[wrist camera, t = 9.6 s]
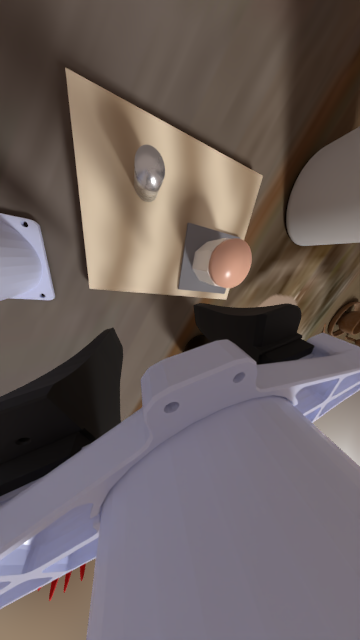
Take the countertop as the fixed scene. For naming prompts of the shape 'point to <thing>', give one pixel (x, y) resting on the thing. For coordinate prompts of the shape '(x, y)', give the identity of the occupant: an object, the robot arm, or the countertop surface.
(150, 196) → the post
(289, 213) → the cylinder vase
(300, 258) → the countertop surface
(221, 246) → the brown egg in cup
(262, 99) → the countertop surface
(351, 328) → the place setting
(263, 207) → the countertop surface
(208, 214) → the board
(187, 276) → the pad
